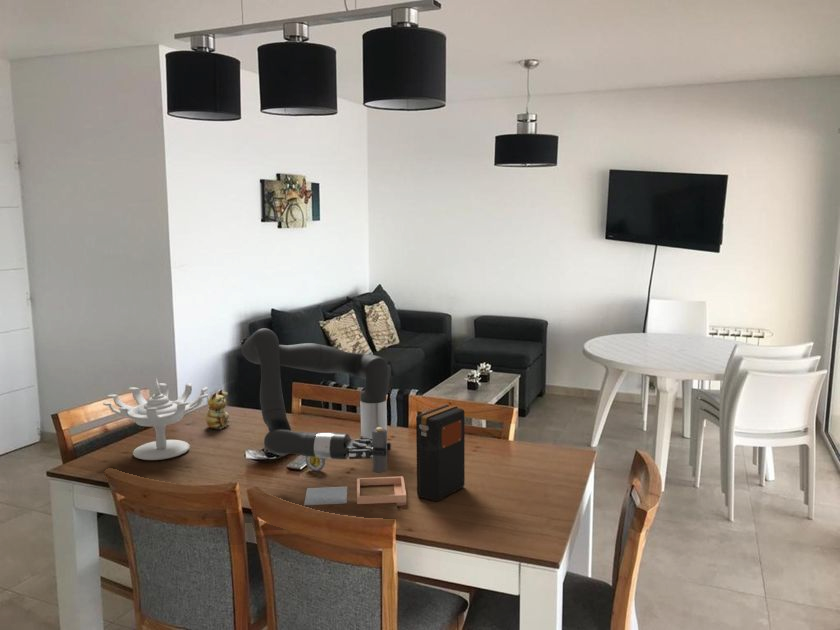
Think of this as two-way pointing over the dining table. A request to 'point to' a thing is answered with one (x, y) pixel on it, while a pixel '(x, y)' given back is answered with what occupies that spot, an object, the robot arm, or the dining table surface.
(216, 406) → the decorative figurine
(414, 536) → the dining table surface
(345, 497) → the pad
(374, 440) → the battery
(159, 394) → the candelabra
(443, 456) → the black case
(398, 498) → the bin
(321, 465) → the pocket watch
